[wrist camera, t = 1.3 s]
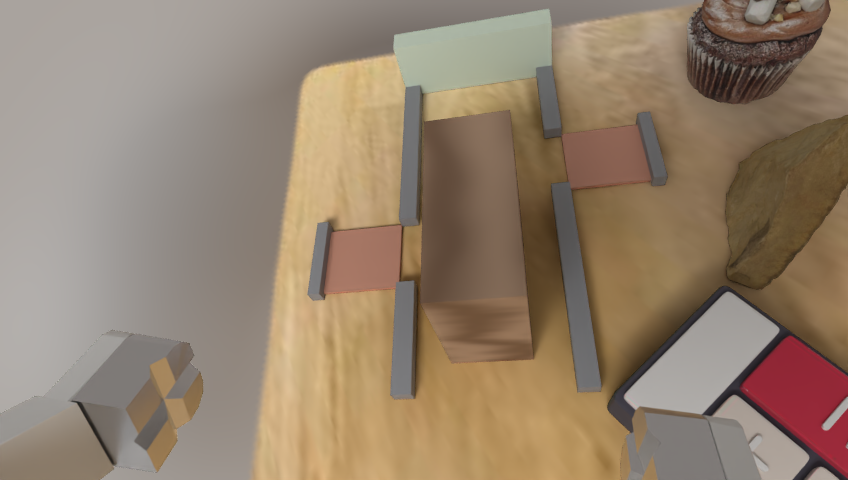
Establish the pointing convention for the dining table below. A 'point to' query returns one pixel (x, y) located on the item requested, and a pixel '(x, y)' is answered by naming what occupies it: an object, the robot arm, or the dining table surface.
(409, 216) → the green panel rail frame
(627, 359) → the dining table surface
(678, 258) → the dining table surface
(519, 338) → the walnut block
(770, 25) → the cupcake
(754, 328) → the calculator
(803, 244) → the rock
